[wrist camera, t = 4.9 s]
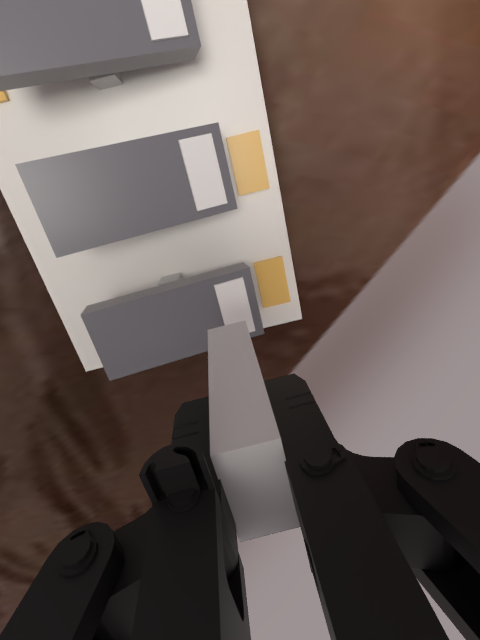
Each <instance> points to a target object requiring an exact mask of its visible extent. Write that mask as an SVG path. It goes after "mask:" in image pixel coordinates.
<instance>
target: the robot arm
mask: <svg viewBox="0 0 480 640" xmlns="http://www.w3.org/2000/svg"><path fill="white" fill-rule="evenodd" d="M208 377H209V396H208V397H204V398H200V399H196V400H192V401H188V402H184V403H183V404H182V405H181V407H180V408H179V410H178V411H177V413H176V414H175V420H174V427H173V428H174V430H173V435H172V440H173V441H172V443H171V445H168V446H166V447H163V448H162V449H160V450H159V451H157V452H156V453H154V454H153V455H152V456H151V457H150V458H149V459H148V460H147V461H146V463H145V464H144V465H143V467H142V470H141V472H140V474H139V476H140V478H141V481H142V483H143V485H144V487H145V489H146V491H147V493H148V496H149V498H150V500H151V502H152V504H153V505H152V508H150V509H149V510H148V511H147V512H146V513H145V514H143V515H142V516H140V517H139V518H137V519H135V520H134V521H132V522H130V523H128V524H126V525H125V526H123V527H121V528H119V529H117V530H116V531H114V532H113V530H112V529H111V528H110V527H109V526H108V525H107V524H104V523H100V522H95V523H90V524H86V525H84V526H82V527H80V528H78V529H76V530H74V531H72V532H71V533H70V534H69V535H68V536H66V537H65V538H64V539H63V540H62V541H61V542H59V544H58V545H57V546H56V548H55V549H54V550H53V551H52V553H51V554H50V555H49V557H48V558H47V560H46V562H45V563H44V565H43V566H42V568H41V570H40V571H39V573H38V575H37V576H36V578H35V579H34V581H33V583H32V584H31V586H30V588H29V589H28V591H27V592H26V594H25V596H24V597H23V599H22V601H21V602H20V604H19V605H18V607H17V609H16V610H15V612H14V614H13V615H12V617H11V618H10V620H9V622H8V623H7V625H6V627H5V628H4V630H3V631H2V633H1V635H0V640H251V636H250V627H249V617H248V607H247V597H246V588H245V578H244V569H243V565H242V562H241V558H240V555H239V553H238V545H237V535H238V538H239V541H240V542H243V541H246V540H251V539H254V538H258V537H262V536H266V535H270V534H274V533H278V532H282V531H286V530H290V529H293V528H298V527H301V530H302V534H303V538H304V542H305V546H306V551H307V555H308V559H309V563H310V568H311V572H312V573H313V576H314V579H315V583H316V587H317V591H318V594H319V598H320V601H321V605H322V609H323V612H324V616H325V619H326V623H327V626H328V630H329V634H330V637H331V640H449V638H448V636H447V635H446V633H445V631H444V629H443V627H442V625H441V624H440V622H439V620H438V618H437V616H436V614H435V612H434V610H433V609H432V607H431V605H430V603H429V601H428V599H427V597H426V595H425V594H424V592H423V590H422V588H421V586H420V584H419V582H420V583H421V584H422V585H423V587H424V588H425V589H426V590H427V592H428V593H429V594H430V595H431V597H432V598H433V599H434V600H435V602H436V603H437V604H438V605H439V606H440V608H441V609H442V610H443V612H444V613H445V614H446V615H447V617H448V618H449V619H450V620H451V622H452V623H453V624H454V625H455V626H456V628H457V629H458V630H459V632H460V633H461V634H462V635H463V637H464V638H465V639H466V640H480V463H479V462H477V461H476V460H475V459H473V458H472V457H470V456H469V455H468V454H466V453H464V452H463V451H462V450H461V449H459V448H457V447H455V446H453V445H451V444H449V443H447V442H444V441H440V440H436V439H431V438H430V439H429V438H428V439H427V438H418V439H414V440H411V441H407V442H405V443H404V444H403V445H402V446H400V447H399V448H398V449H397V452H396V454H395V457H393V458H392V457H368V456H362V455H358V454H355V453H352V452H350V451H348V450H346V449H345V448H344V447H343V446H342V445H340V444H339V443H338V442H337V441H336V439H335V438H334V436H333V434H332V432H331V430H330V428H329V426H328V424H327V422H326V421H325V419H324V417H323V415H322V413H321V411H320V409H319V407H318V405H317V403H316V402H315V399H314V397H313V395H312V394H311V391H310V389H309V387H308V385H307V383H306V381H305V380H303V379H302V378H300V377H298V376H297V375H295V374H290V375H286V376H282V377H279V378H275V379H271V380H267V381H263V377H262V374H261V371H260V367H259V364H258V361H257V357H256V354H255V351H254V347H253V344H252V341H251V337H250V334H249V331H248V327H247V324H246V321H241V322H237V323H233V324H229V325H225V326H221V327H217V328H213V329H209V330H208ZM236 532H237V534H236ZM416 578H417V579H418V580H419V582H418V580H417V579H416Z"/></svg>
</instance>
